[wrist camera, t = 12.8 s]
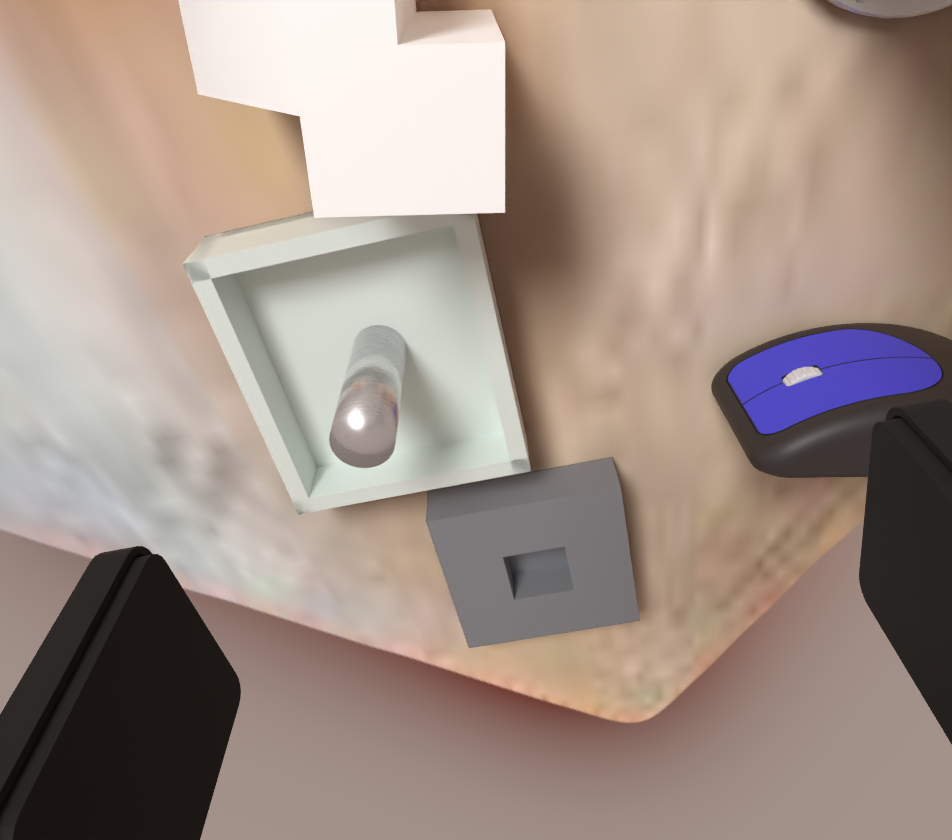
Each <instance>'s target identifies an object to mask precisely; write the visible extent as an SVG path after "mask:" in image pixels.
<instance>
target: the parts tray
mask: <svg viewBox="0 0 952 840" xmlns="http://www.w3.org/2000/svg"><path fill="white" fill-rule="evenodd" d="M183 266H184V268H185V270H186V272H187V274H188V277H189V279H190V281H191V283H192V285H193V287H194V290H195V292H196V294H197V296H198V298H199V300H200V303H201V305H202V307H203V309H204V311H205V313H206V316H207V318H208V320H209V322H210V324H211V326H212V328H213V331H214V333H215V335H216V337H217V339H218V341H219V344H220V346H221V348H222V350H223V352H224V354H225V357H226V359H227V361H228V363H229V365H230V367H231V370H232V372H233V374H234V376H235V378H236V380H237V382H238V385H239V387H240V389H241V391H242V393H243V395H244V398H245V400H246V402H247V404H248V406H249V408H250V411H251V413H252V415H253V417H254V419H255V421H256V424H257V426H258V428H259V430H260V432H261V434H262V436H263V439H264V441H265V443H266V445H267V447H268V449H269V452H270V454H271V456H272V458H273V460H274V462H275V465H276V467H277V469H278V471H279V473H280V475H281V478H282V480H283V482H284V484H285V486H286V488H287V490H288V493H289V495H290V497H291V499H292V501H293V503H294V506H295V508H296V510H297V512H298V514H302V513H308V512H313V511H319V510H324V509H329V508H335V507H340V506H346V505H351V504H357V503H362V502H367V501H373V500H378V499H384V498H389V497H394V496H400V495H405V494H411V493H416V492H421V491H427V490H432V489H438V488H443V487H449V486H454V485H459V484H465V483H470V482H476V481H481V480H486V479H492V478H497V477H503V476H508V475H514V474H519V473H524V472H530V471H531V469H530V461H529V454H528V446H527V438H526V432H525V428H524V423H523V419H522V414H521V409H520V405H519V400H518V396H517V391H516V387H515V382H514V378H513V373H512V369H511V364H510V360H509V355H508V351H507V346H506V342H505V337H504V333H503V328H502V324H501V319H500V315H499V310H498V305H497V301H496V296H495V292H494V287H493V283H492V278H491V274H490V269H489V265H488V260H487V256H486V251H485V247H484V242H483V238H482V233H481V229H480V224H479V220H478V215H477V213H473V214H436V215H399V216H361V217H324V218H314V212H310V213H306V214H302V215H297V216H293V217H288V218H284V219H280V220H275V221H271V222H267V223H262V224H258V225H253V226H249V227H245V228H240V229H236V230H232V231H227V232H223V233H218V234H214V235H210V236H206V237H205V238H204V239H203V240H202V241H201V242H200V244H199V245H198V246H197V247H196V248H195V250H194V251H193V252H192V253H191V254H190V256H189V257H188V258H187V259H186V260H185V261H184V263H183ZM372 325H384V326H388V327H391V328H393V329H395V330H396V331H397V332H399V333H400V334H401V336H402V337H403V338H404V340H405V342H406V346H407V356H406V364H405V372H404V380H403V387H402V395H401V403H400V411H399V419H398V427H397V435H396V443H395V449H394V452H393V454H392V455H391V457H390V458H389V459H388V460H387V461H386V462H384V463H383V464H381V465H378V466H376V467H372V468H358V467H353V466H350V465H348V464H346V463H344V462H342V461H341V460H340V459H339V458H337V457H336V455H335V454H334V453H333V451H332V449H331V447H330V443H329V436H330V431H331V427H332V423H333V420H334V416H335V412H336V408H337V404H338V400H339V397H340V393H341V389H342V385H343V381H344V377H345V374H346V370H347V366H348V362H349V358H350V354H351V351H352V347H353V343H354V340H355V338H356V336H357V334H358V333H359V332H360V331H362V330H363V329H364V328H366V327H369V326H372Z"/></svg>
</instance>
